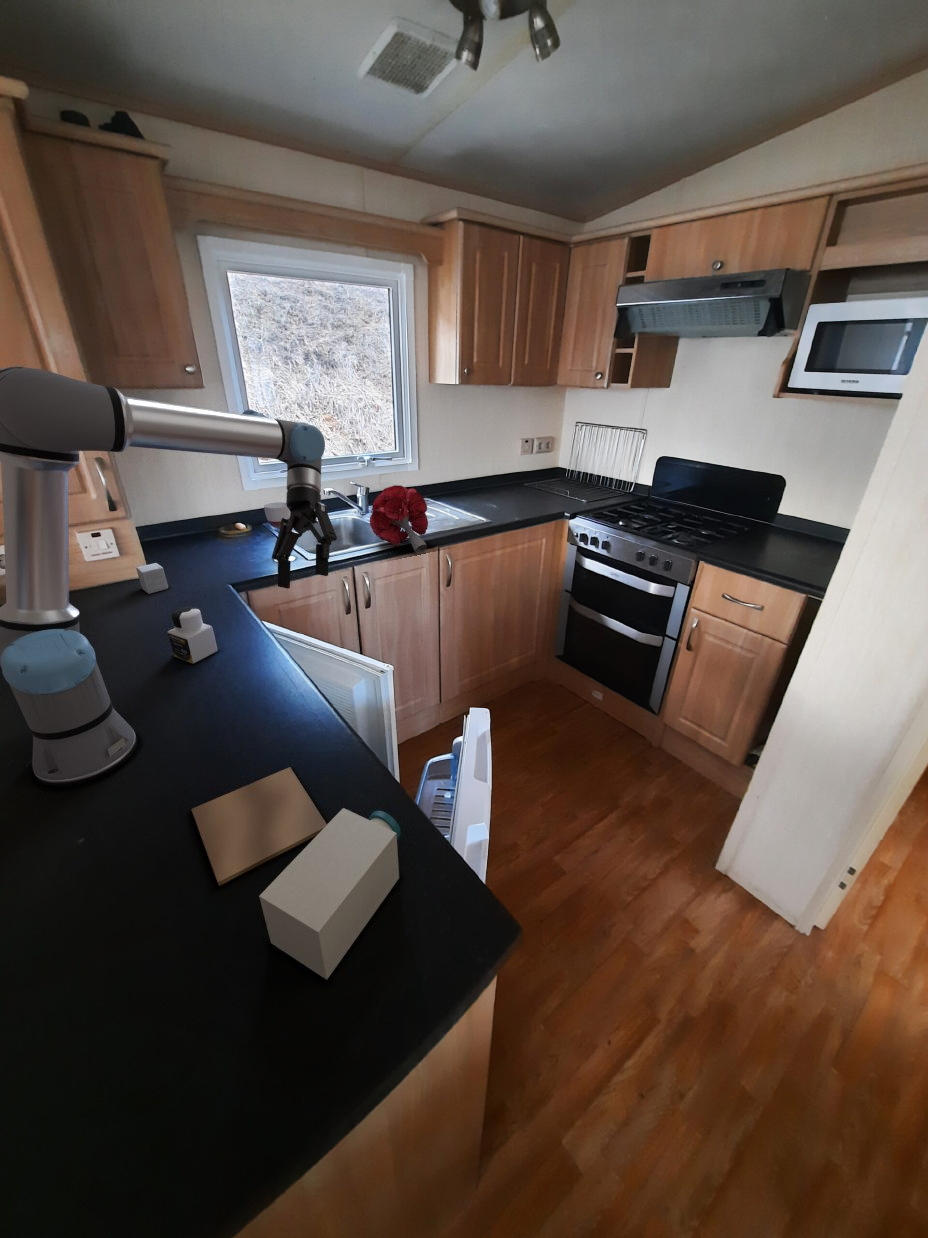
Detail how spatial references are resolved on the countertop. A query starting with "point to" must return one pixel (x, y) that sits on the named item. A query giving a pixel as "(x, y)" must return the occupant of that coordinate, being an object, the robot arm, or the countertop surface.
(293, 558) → the wineglass
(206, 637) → the medicine bottle
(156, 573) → the product box
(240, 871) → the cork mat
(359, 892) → the drink carton
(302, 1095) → the countertop surface
